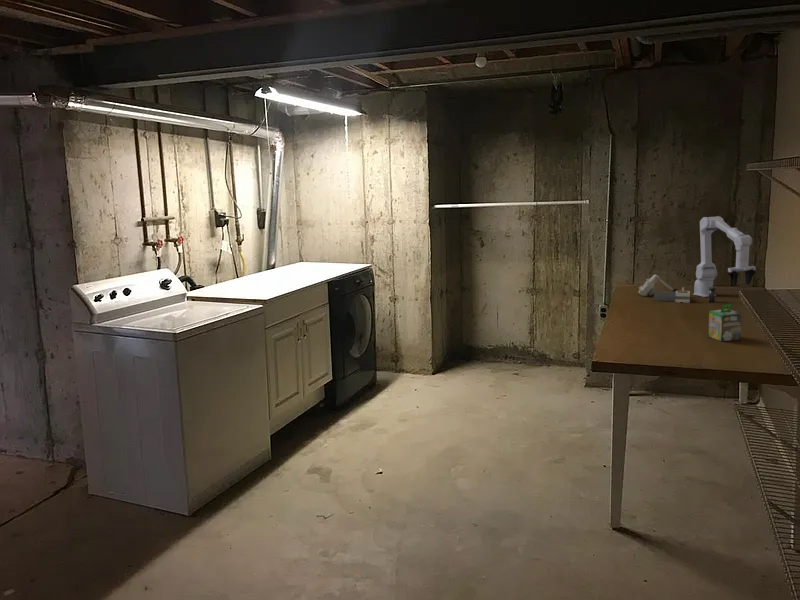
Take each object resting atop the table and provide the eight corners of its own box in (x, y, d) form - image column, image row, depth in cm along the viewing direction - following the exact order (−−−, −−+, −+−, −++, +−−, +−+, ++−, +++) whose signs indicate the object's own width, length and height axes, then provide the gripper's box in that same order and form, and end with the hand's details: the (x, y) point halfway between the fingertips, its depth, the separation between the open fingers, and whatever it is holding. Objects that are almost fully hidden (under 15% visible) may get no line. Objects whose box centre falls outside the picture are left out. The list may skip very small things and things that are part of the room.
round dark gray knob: (706, 301, 341) (706, 287, 340) (712, 301, 342) (712, 286, 341) (711, 303, 337) (712, 288, 336) (717, 302, 338) (717, 287, 337)
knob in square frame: (654, 295, 364) (655, 286, 363) (689, 296, 357) (689, 287, 356) (653, 301, 348) (653, 292, 347) (689, 302, 341) (690, 293, 340)
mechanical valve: (636, 289, 372) (655, 270, 366) (661, 308, 371) (680, 289, 364) (636, 293, 363) (655, 274, 357) (662, 313, 361) (681, 294, 355)
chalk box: (726, 335, 273) (728, 301, 271) (741, 340, 264) (743, 305, 262) (707, 336, 272) (708, 302, 269) (721, 342, 263) (722, 306, 260)
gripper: (735, 260, 323) (733, 287, 325) (760, 258, 325) (759, 285, 328) (725, 259, 330) (724, 285, 332) (750, 257, 332) (749, 282, 335)
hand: (740, 284), depth 331 cm, fingers open, 7 cm apart
